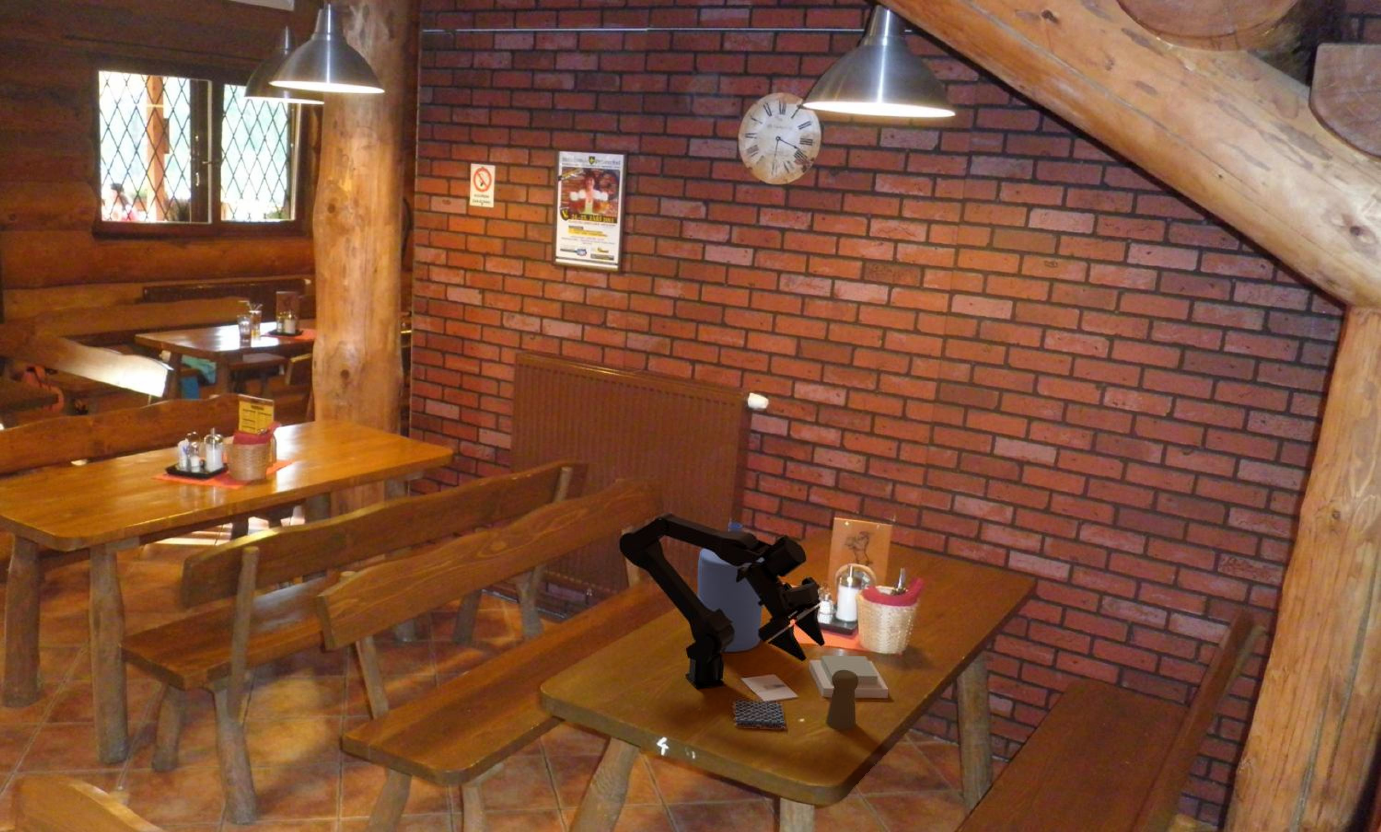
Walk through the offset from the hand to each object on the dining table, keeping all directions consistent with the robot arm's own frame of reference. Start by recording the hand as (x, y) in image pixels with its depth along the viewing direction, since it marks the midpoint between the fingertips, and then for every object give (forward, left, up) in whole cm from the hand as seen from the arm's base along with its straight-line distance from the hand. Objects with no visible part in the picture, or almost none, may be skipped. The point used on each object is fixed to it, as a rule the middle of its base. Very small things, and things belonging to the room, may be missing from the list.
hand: (814, 652), depth 237 cm
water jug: (-1, +38, -13) cm, 41 cm away
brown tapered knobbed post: (+4, -6, -13) cm, 15 cm away
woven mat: (-11, +1, -14) cm, 18 cm away
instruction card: (-3, +12, -13) cm, 18 cm away
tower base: (+15, +10, -13) cm, 23 cm away
